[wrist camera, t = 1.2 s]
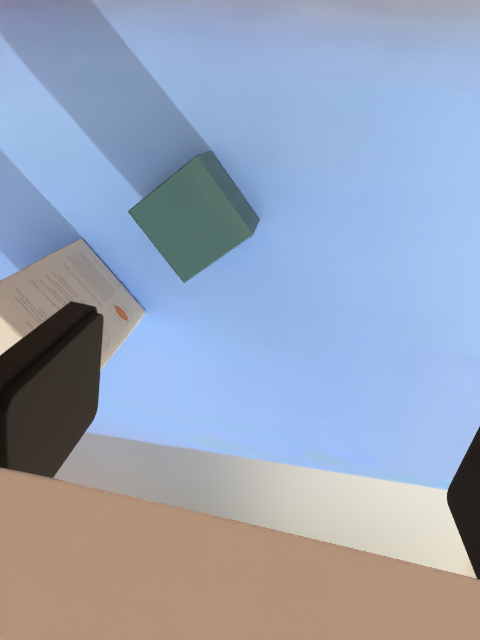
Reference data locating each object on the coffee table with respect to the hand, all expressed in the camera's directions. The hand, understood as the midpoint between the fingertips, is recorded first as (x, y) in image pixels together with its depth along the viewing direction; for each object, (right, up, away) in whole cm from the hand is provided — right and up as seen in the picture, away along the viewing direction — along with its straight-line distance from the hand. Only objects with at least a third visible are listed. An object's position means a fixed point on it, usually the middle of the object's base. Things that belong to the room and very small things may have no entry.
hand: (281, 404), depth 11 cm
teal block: (-4, +10, +23) cm, 26 cm away
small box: (-14, +4, +27) cm, 31 cm away
